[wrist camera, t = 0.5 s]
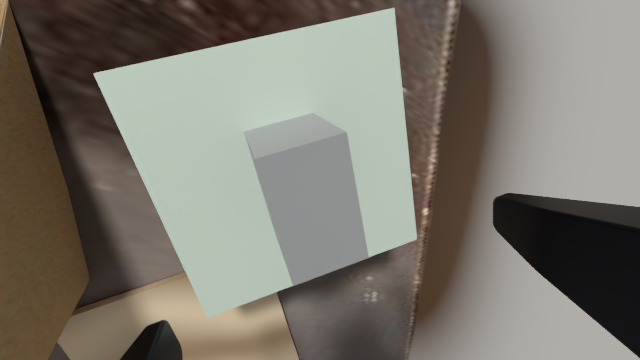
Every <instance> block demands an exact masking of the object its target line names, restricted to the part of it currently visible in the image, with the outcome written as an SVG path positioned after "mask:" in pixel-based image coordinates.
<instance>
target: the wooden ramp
mask: <svg viewBox="0 0 640 360" xmlns="http://www.w3.org/2000/svg"><path fill="white" fill-rule="evenodd" d="M89 280H90V277H89V273H88V269H87V265H86V261H85V257H84V252H83V248H82V244H81V240H80V236H79V232H78V228H77V224H76V220H75V216H74V212H73V208H72V204H71V200H70V196H69V192H68V188H67V185H66V182H65V179H64V176H63V172H62V169H61V166H60V163H59V160H58V157H57V153H56V150H55V147H54V144H53V141H52V138H51V134H50V131H49V128H48V125H47V122H46V119H45V115H44V112H43V109H42V106H41V103H40V100H39V97H38V93H37V90H36V87H35V84H34V81H33V78H32V74H31V71H30V68H29V65H28V62H27V59H26V55H25V52H24V49H23V46H22V43H21V40H20V36H19V33H18V30H17V27H16V24H15V21H14V17H13V14H12V11H11V8H10V5H9V2H8V0H0V360H48V358H49V356H50V354H51V352H52V351H53V349H54V347H55V345H56V343H57V341H58V339H59V337H60V335H61V334H62V332H63V330H64V328H65V326H66V324H67V322H68V320H69V318H70V317H71V315H72V313H73V311H74V309H75V307H76V305H77V303H78V301H79V300H80V298H81V296H82V294H83V292H84V290H85V288H86V286H87V284H88V283H89Z"/></svg>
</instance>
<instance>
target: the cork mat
mask: <svg viewBox="0 0 640 360" xmlns="http://www.w3.org/2000/svg"><path fill="white" fill-rule="evenodd" d="M161 320H167V321H168V322H169V324H170V326H171V328H172V329H173V331H174V333H175V335H176V337H177V339H178V341H179V343H180V345H181V348H182V355H183V360H299V357H298V354H297V351H296V348H295V345H294V342H293V339H292V336H291V333H290V330H289V327H288V324H287V321H286V318H285V315H284V312H283V309H282V306H281V303H280V300H279V297H278V294H277V292H275V293H273V294H270V295H267V296H265V297H262V298H259V299H257V300H254V301H251V302H249V303H246V304H243V305H241V306H238V307H235V308H233V309H230V310H227V311H225V312H222V313H219V314H217V315H214V316H211V317H209V318H207V317H206V315H205V313H204V311H203V308H202V306H201V304H200V302H199V300H198V298H197V296H196V293H195V291H194V289H193V287H192V285H191V283H190V280H189V278H188V276H187V274H186V272H183V273H180V274H177V275H174V276H171V277H168V278H165V279H162V280H160V281H157V282H154V283H151V284H148V285H145V286H142V287H139V288H136V289H133V290H130V291H128V292H125V293H122V294H119V295H116V296H113V297H110V298H107V299H104V300H101V301H98V302H96V303H93V304H90V305H87V306H84V307H81V308H78V309H75V310H74V311H73V313H72V315H71V317H70V318H69V320H68V322H67V324H66V326H65V328H64V330H63V332H62V334H61V335H60V337H59V339H58V341H57V343H58V344H59V345H60V347H61V348H62V349H63V351H64V352H65V353H66V355H67V356H68V357H69V359H70V360H120V358H121V357H122V356H123V355H124V353H125V352H126V351H127V350H128V348H129V347H130V346H131V345H132V343H133V342H134V341H135V340H136V338H137V337H138V336H139V335H140V333H141V332H142V331H143V330H144V328H145V327H146V326H148V325H150V324H153V323H155V322H158V321H161Z"/></svg>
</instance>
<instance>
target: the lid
mask: <svg viewBox="0 0 640 360" xmlns="http://www.w3.org/2000/svg"><path fill="white" fill-rule="evenodd" d="M93 74H94V76H95V79H96V81H97V83H98V85H99V87H100V89H101V91H102V94H103V96H104V98H105V100H106V102H107V104H108V107H109V109H110V111H111V113H112V115H113V117H114V119H115V122H116V124H117V126H118V128H119V130H120V132H121V134H122V137H123V139H124V141H125V143H126V145H127V147H128V149H129V152H130V154H131V156H132V158H133V160H134V162H135V165H136V167H137V169H138V171H139V173H140V175H141V177H142V180H143V182H144V184H145V186H146V188H147V190H148V192H149V195H150V197H151V199H152V201H153V203H154V205H155V207H156V210H157V212H158V214H159V216H160V218H161V220H162V223H163V225H164V227H165V229H166V231H167V233H168V235H169V238H170V240H171V242H172V244H173V246H174V248H175V250H176V253H177V255H178V257H179V259H180V261H181V263H182V265H183V268H184V270H185V272H186V274H187V276H188V278H189V280H190V283H191V285H192V287H193V289H194V291H195V293H196V296H197V298H198V300H199V302H200V304H201V306H202V308H203V311H204V313H205V315H206V317H207V318H209V317H211V316H214V315H217V314H219V313H222V312H225V311H227V310H230V309H233V308H235V307H238V306H241V305H243V304H246V303H249V302H251V301H254V300H257V299H259V298H262V297H265V296H267V295H270V294H273V293H275V292H278V291H281V290H283V289H286V288H289V287H291V286H295V285H298V284H301V283H303V282H306V281H309V280H311V279H314V278H317V277H319V276H322V275H325V274H327V273H330V272H333V271H335V270H338V269H341V268H343V267H346V266H349V265H351V264H354V263H357V262H359V261H362V260H364V259H367V258H369V257H371V256H374V255H377V254H379V253H382V252H385V251H387V250H390V249H393V248H395V247H398V246H401V245H403V244H406V243H409V242H411V241H414V240H417V234H416V223H415V213H414V203H413V193H412V183H411V173H410V163H409V152H408V142H407V132H406V122H405V112H404V102H403V91H402V81H401V71H400V61H399V51H398V41H397V31H396V20H395V10H394V8H391V9H386V10H382V11H377V12H373V13H368V14H364V15H359V16H354V17H350V18H345V19H341V20H336V21H331V22H327V23H322V24H318V25H313V26H308V27H304V28H299V29H295V30H290V31H285V32H281V33H276V34H272V35H267V36H262V37H258V38H253V39H249V40H244V41H240V42H235V43H230V44H226V45H221V46H217V47H212V48H207V49H203V50H198V51H194V52H189V53H184V54H180V55H175V56H171V57H166V58H161V59H157V60H152V61H148V62H143V63H139V64H134V65H129V66H125V67H120V68H116V69H111V70H106V71H102V72H97V73H93Z"/></svg>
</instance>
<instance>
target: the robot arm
mask: <svg viewBox="0 0 640 360" xmlns="http://www.w3.org/2000/svg"><path fill="white" fill-rule="evenodd" d="M493 225H494V227H495V229H496V230H497V232H498V233H499V234H500V235H501V236H502V237H503V238H504V239H505V240H506V241H507V242H508V243H509V244H510V245H511V246H512V247H513V248H514V249H515V250H516V251H517V252H518V253H519V254H520V255H521V256H522V257H523V258H524V259H525V260H526V261H527V262H528V263H529V264H530V265H531V266H532V267H534V269H535V270H536V271H538V272H539V273H540V274H541V275H542V276H543V277H544V278H546V279H547V280H548V281H549V282H550V283H551V284H553V285H554V286H555V287H556V288H558V289H559V290H560V291H561V292H562V293H563V294H564V295H566V296H567V297H568V298H569V299H570V300H572V301H573V302H574V303H575V304H576V305H578V306H579V307H580V308H581V309H582V310H583V311H585V312H586V313H587V314H588V315H589V316H591V317H592V318H593V319H594V320H596V321H597V322H598V323H599V324H600V325H601V326H602V327H604V328H605V329H606V330H607V331H608V332H610V333H611V334H612V335H613V336H614V337H615V338H617V339H618V340H619V341H620V342H621V343H623V344H624V345H625V346H626V347H628V348H629V349H630V350H631V351H632V352H633V353H634V354H636V355H637V356H638V357H639V358H640V207H633V206H624V205H615V204H606V203H596V202H588V201H578V200H569V199H559V198H551V197H542V196H532V195H523V194H514V193H507V194H504V195H501V196H498V197H496V198H495V199H494V201H493ZM120 360H183V355H182V348H181V345H180V343H179V341H178V339H177V337H176V335H175V333H174V331H173V329H172V328H171V326H170V324H169V322H168V321H167V320H161V321H158V322H155V323H153V324H150V325H148V326H146V327H145V328H144V330H143V331H142V332H141V333H140V335H139V336H138V337H137V338H136V340H135V341H134V342H133V343H132V345H131V346H130V347H129V348H128V350H127V351H126V352H125V353H124V355H123V356H122V357H121V358H120Z"/></svg>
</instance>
